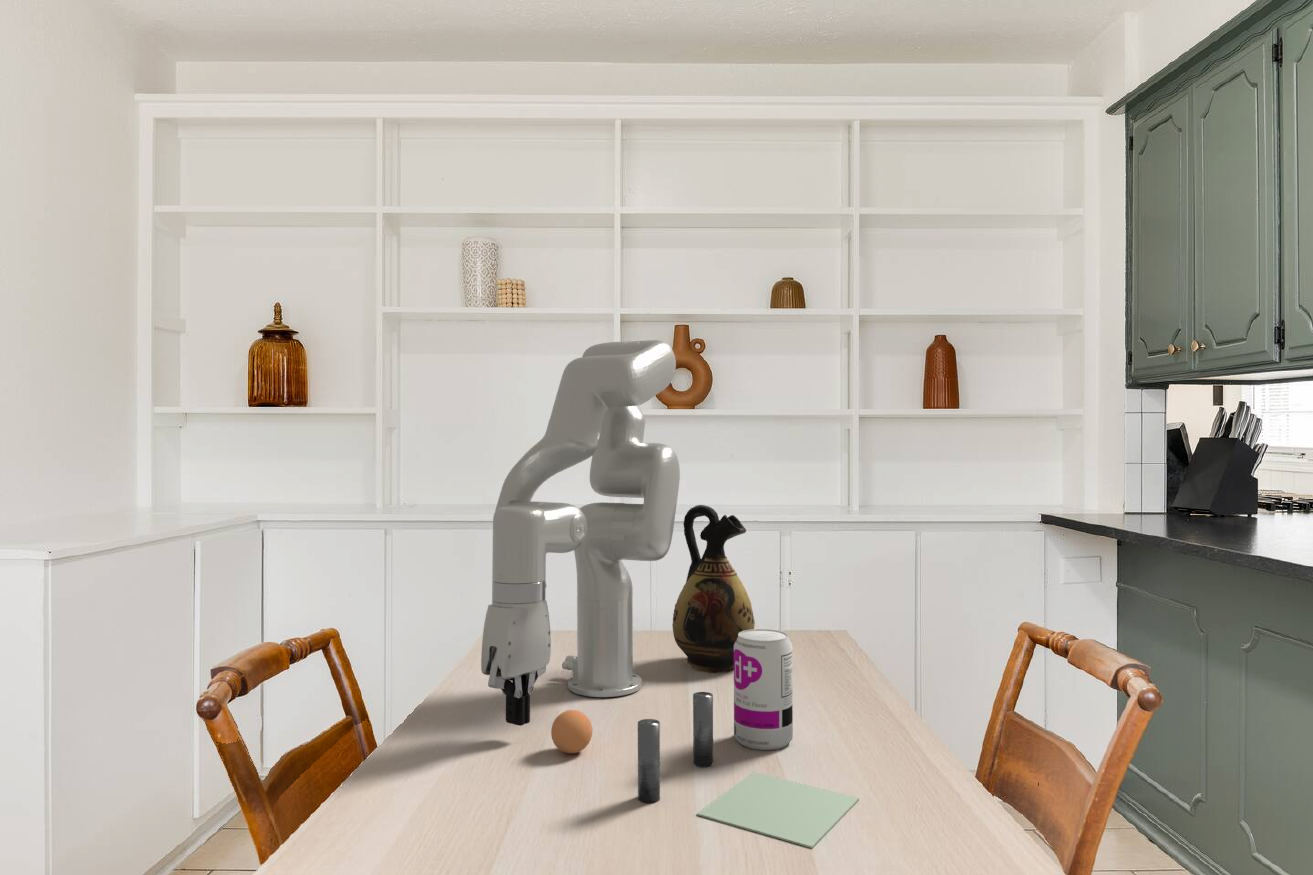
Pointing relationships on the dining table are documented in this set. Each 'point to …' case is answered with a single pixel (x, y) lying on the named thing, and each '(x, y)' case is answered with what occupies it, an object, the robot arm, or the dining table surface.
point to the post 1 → (648, 760)
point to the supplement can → (763, 689)
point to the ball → (571, 731)
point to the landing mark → (780, 808)
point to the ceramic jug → (711, 597)
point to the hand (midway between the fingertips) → (517, 722)
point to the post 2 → (703, 729)
